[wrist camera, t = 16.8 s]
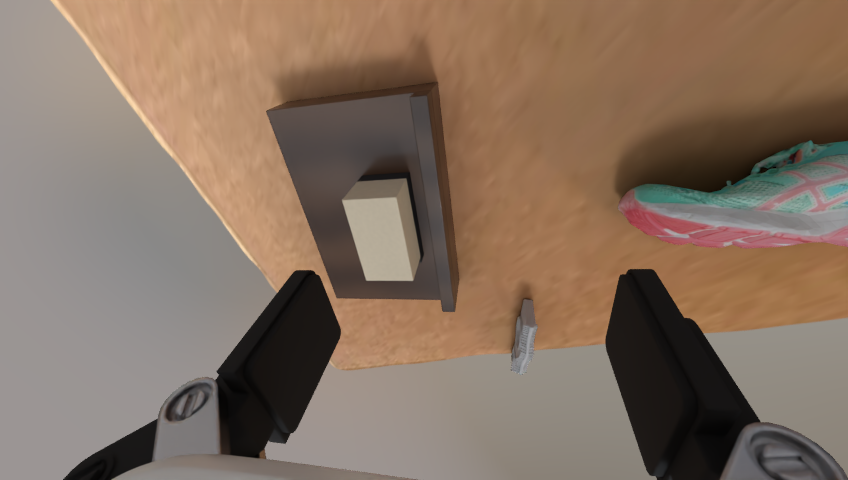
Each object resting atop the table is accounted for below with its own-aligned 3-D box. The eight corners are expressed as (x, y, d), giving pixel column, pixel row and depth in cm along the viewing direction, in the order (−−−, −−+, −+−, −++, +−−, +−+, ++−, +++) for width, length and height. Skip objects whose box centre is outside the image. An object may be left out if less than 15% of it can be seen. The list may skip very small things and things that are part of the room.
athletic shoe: (986, 137, 28) (1230, 59, 17) (993, 250, 27) (1249, 243, 16) (614, 169, 40) (620, 136, 29) (615, 248, 39) (621, 243, 29)
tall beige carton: (361, 175, 34) (341, 200, 29) (409, 171, 33) (396, 197, 28) (382, 255, 39) (367, 286, 35) (424, 254, 38) (414, 287, 33)
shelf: (287, 101, 35) (253, 116, 30) (437, 82, 31) (427, 94, 27) (347, 278, 48) (330, 309, 43) (459, 279, 44) (454, 312, 39)
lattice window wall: (521, 356, 51) (524, 392, 46) (509, 354, 51) (511, 390, 46) (534, 297, 44) (540, 332, 39) (520, 296, 44) (524, 331, 39)
